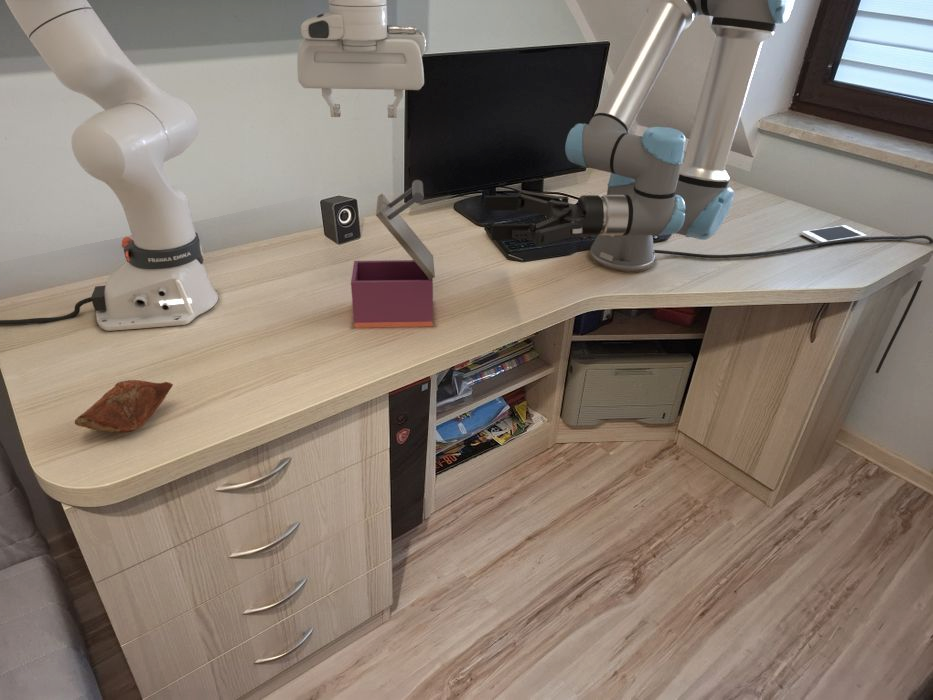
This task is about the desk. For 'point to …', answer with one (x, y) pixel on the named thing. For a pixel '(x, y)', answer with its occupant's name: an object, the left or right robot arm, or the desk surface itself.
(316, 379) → the desk surface
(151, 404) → the fossil
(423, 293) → the chest
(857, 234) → the smartphone
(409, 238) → the lid
